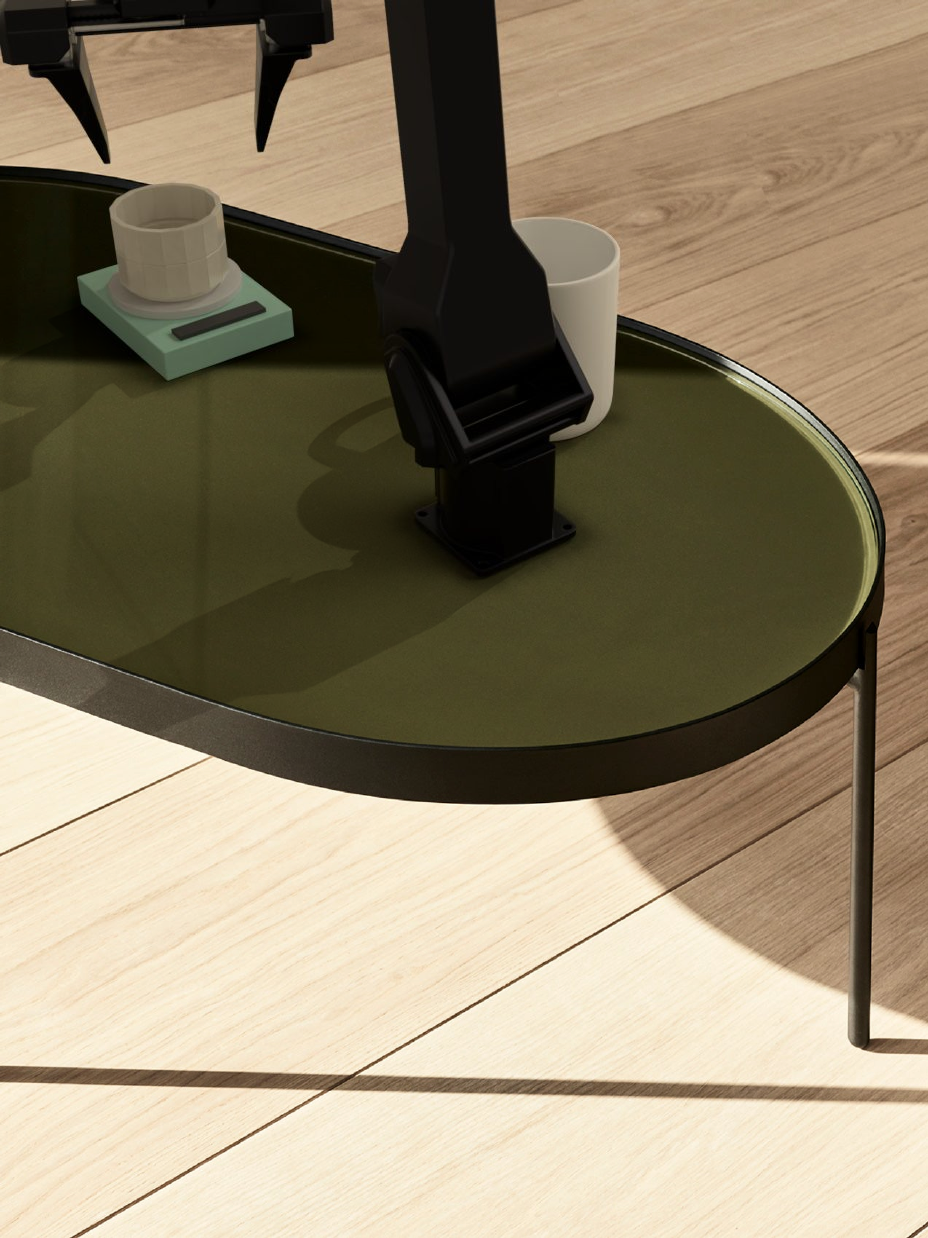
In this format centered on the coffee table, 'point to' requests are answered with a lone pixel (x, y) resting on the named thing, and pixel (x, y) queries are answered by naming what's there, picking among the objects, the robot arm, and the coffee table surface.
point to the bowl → (170, 241)
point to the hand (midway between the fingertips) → (184, 155)
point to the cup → (580, 299)
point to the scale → (189, 321)
